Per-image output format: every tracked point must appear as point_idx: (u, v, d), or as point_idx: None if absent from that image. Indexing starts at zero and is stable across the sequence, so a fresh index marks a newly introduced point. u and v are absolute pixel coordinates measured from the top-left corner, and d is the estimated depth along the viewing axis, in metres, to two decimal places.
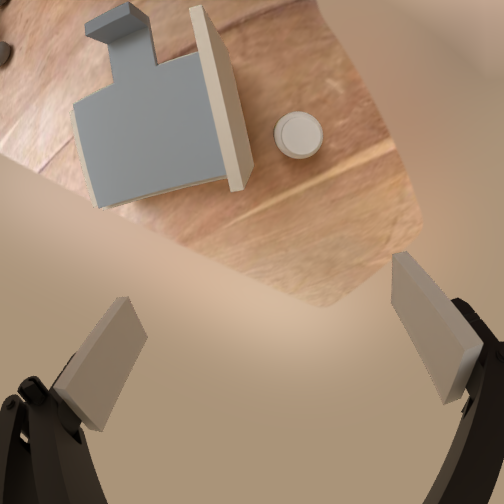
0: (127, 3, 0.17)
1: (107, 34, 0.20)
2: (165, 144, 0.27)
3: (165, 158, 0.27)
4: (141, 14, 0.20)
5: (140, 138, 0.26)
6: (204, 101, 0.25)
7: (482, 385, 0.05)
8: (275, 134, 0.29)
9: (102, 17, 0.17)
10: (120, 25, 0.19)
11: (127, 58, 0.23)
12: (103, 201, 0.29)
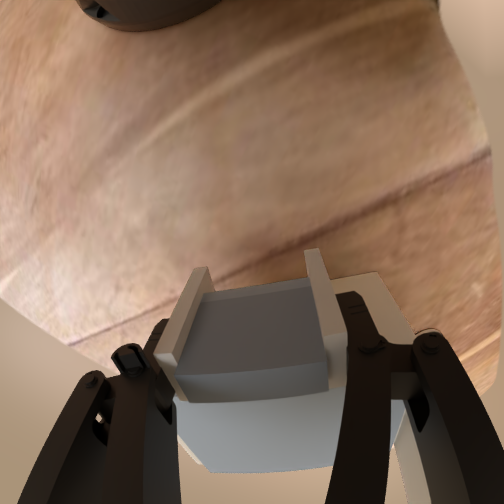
0: (323, 365, 0.08)
1: None
2: (315, 448, 0.18)
3: (312, 456, 0.19)
4: None
5: (281, 445, 0.18)
6: None
7: (347, 379, 0.07)
8: None
9: (238, 381, 0.09)
10: None
11: None
12: (218, 470, 0.21)
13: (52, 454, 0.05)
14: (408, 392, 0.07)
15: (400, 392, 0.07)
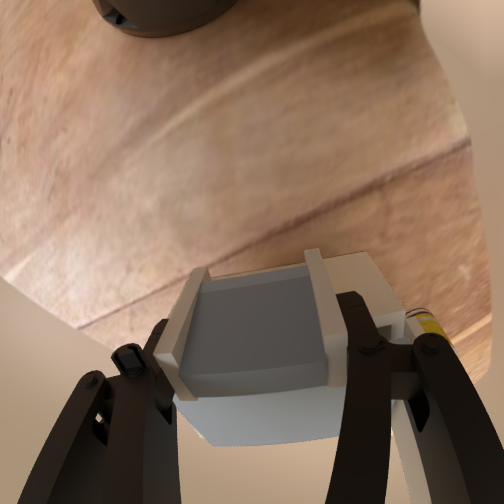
0: (323, 364, 0.09)
1: None
2: (314, 422, 0.20)
3: (310, 429, 0.21)
4: None
5: (281, 420, 0.20)
6: None
7: (347, 380, 0.07)
8: None
9: (240, 379, 0.09)
10: None
11: None
12: (220, 444, 0.23)
13: (52, 454, 0.05)
14: (409, 392, 0.07)
15: (400, 392, 0.07)
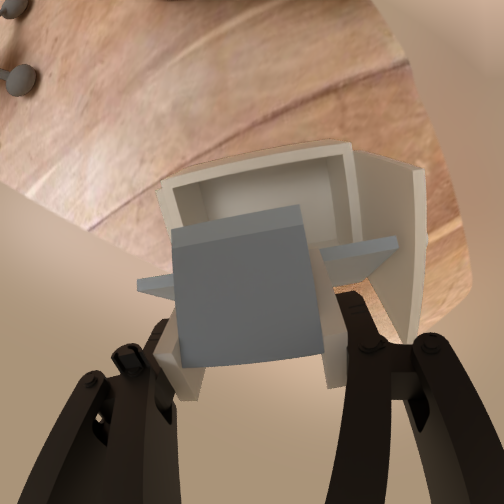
0: None
1: None
2: None
3: None
4: None
5: None
6: (356, 270, 0.21)
7: (347, 380, 0.07)
8: None
9: None
10: None
11: None
12: None
13: (52, 454, 0.05)
14: (409, 392, 0.07)
15: (400, 392, 0.07)
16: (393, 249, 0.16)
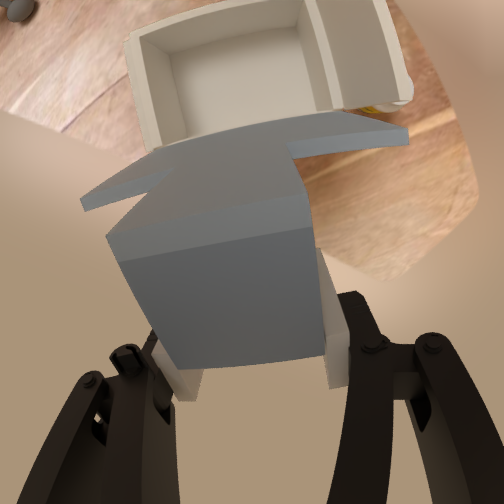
0: None
1: None
2: None
3: None
4: None
5: None
6: None
7: (349, 379, 0.07)
8: None
9: None
10: None
11: None
12: None
13: (51, 454, 0.05)
14: (410, 392, 0.07)
15: (402, 392, 0.07)
16: (401, 144, 0.12)
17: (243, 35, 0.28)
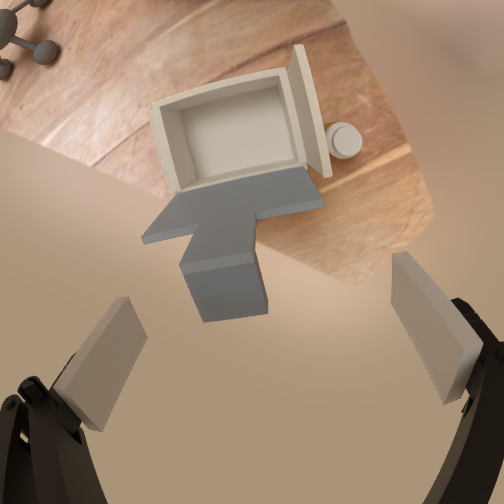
0: None
1: None
2: None
3: None
4: (259, 275, 0.20)
5: None
6: None
7: (482, 385, 0.05)
8: None
9: None
10: None
11: None
12: None
13: None
14: None
15: None
16: None
17: (236, 95, 0.41)
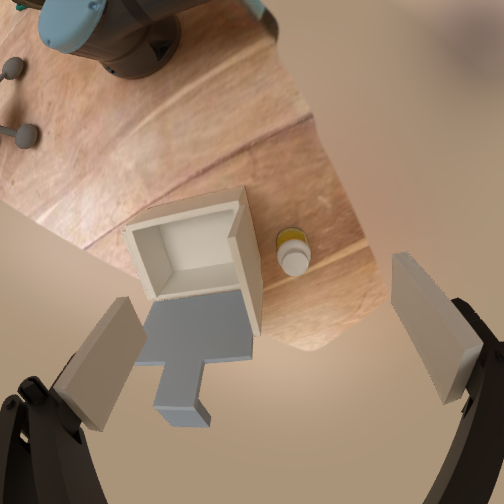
0: (208, 425, 0.30)
1: None
2: None
3: None
4: (201, 412, 0.29)
5: None
6: None
7: (482, 385, 0.05)
8: (277, 256, 0.45)
9: None
10: None
11: None
12: None
13: None
14: None
15: None
16: None
17: None
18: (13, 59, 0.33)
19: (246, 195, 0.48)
